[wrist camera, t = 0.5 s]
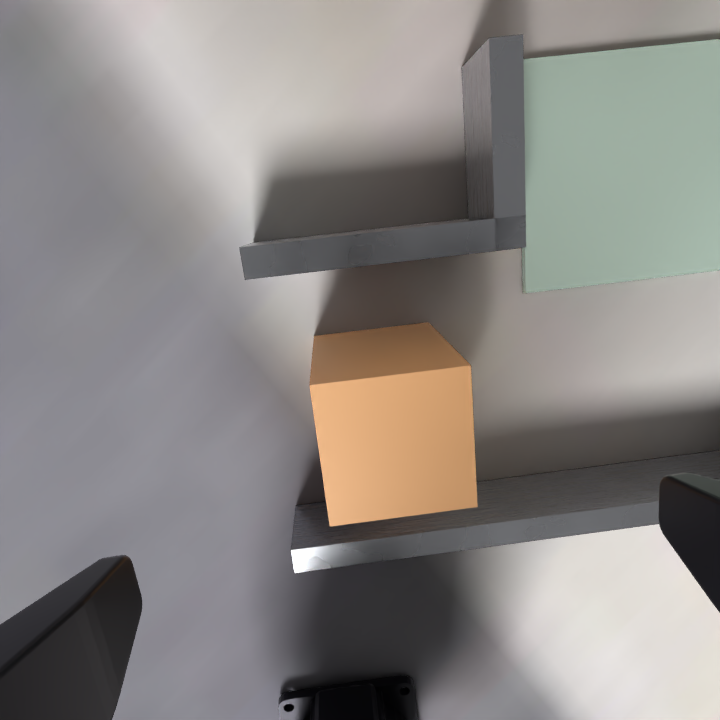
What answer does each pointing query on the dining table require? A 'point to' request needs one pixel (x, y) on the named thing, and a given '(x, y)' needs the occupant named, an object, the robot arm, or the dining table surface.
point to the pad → (621, 165)
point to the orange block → (393, 423)
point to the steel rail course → (450, 238)
